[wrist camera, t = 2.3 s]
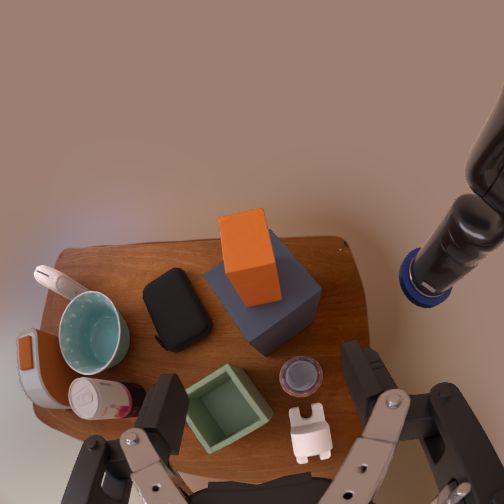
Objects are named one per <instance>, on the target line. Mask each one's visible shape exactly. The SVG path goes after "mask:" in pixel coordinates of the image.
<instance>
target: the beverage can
mask: <svg viewBox="0 0 504 504" xmlns="http://www.w3.org/2000/svg"><path fill="white" fill-rule="evenodd" d="M68 396H69V402H70V405H71V408H72V409H73V411H74V412H75V413H76V415H78V416H79V417H81V418H83V419H86V420H100V419H116V418H128V417H137V416H138V415H139V412H140V410H141V407H142V405H143V402H144V401H145V397H146V392H145V390H144V389H143V388H142V387H141V386H139V385H138V384H134V383H125V382H116V381H108V380H100V379H93V378H87V377H81V378H77V379H75V380H74V381H73V382H72V383H71V385H70V388H69V393H68Z"/></svg>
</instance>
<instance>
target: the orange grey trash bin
mask: <svg viewBox="0 0 504 504" xmlns="http://www.w3.org/2000/svg"><path fill="white" fill-rule="evenodd" d="M16 347H17V364H18V375H19V380H20V384H21V386H22V389H23V391H24V392H25V394H26V395H27V397H28V398H29V399H30V400H31V401H32V402H33V403H34V404H36V405H38V406H39V407H43V408H51V409H72V408H71V405H70V402H69V396H68V393H69V388H70V385H71V383H72V382H73V381H74V380H75V379H77V378H81V377H83V375H82V374H80V373H78V372H76V371H75V370H73V369H72V368H71V367H70V366H69V365H68V364H67V362H66V361H65V359H64V357H63V355H62V352H61V349H60V343H59V337H56V336H53V335H50V334H48V333H45V332H42V331H40V330H37V329H35V328H31V329H29V330H26V331H23V332H21V333H19V335H18V337H17V341H16Z"/></svg>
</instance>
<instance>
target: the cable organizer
mask: <svg viewBox="0 0 504 504" xmlns="http://www.w3.org/2000/svg"><path fill="white" fill-rule="evenodd" d="M311 408H312V415H311V416H310V417H309V418H303V417H301V415H300V412H299V406H298V407H293V408H290V410H289V418H290V423H291V439H292V445H293V450H294V455H295V456H296V458H297V462H298V463H299V464H304V463H308V458H307V457H308V456H315V455H320V459H321V460H323V459H328V458H329V457H330V456H331V453H330V450H331V449H332V448H333V446H332V440H331V434H330V428H329V425H328V423H327V422H326V421H325V417H324V411H323V406H322V404H320V403H319V402H317V403H312V404H311Z"/></svg>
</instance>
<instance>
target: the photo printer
mask: <svg viewBox="0 0 504 504" xmlns="http://www.w3.org/2000/svg"><path fill="white" fill-rule="evenodd" d="M34 276H35V278H36V280H37V281H38V282H39V283H40V284H41V285H43V286H45V287H47V288H49V289H51V290H52V291H54V292H56V293H58V294H60V295H61V296H63V297H65V298H67V299H69V300H71V301H72V300H73V299H74V298H75V297H77V296H78V295H80V294H82V293H84V292H87V291H90V290H88V289H87V288H85V287H84V286H82V285H81V284H79V283H78V282H76V281H74V280H73V279H71V278H70V277H68V276H66V275H65V274H63V273H62V272H60V271H58V270H56V269H53V268H51V267H48V266H45V265H41V266H38V267H37V268H36V270H35V272H34Z"/></svg>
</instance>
